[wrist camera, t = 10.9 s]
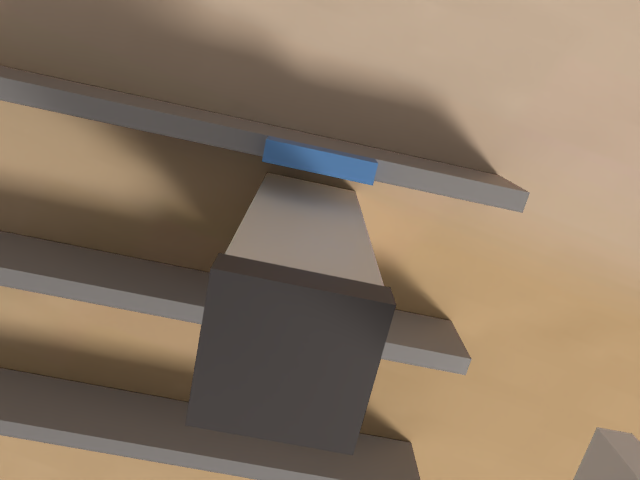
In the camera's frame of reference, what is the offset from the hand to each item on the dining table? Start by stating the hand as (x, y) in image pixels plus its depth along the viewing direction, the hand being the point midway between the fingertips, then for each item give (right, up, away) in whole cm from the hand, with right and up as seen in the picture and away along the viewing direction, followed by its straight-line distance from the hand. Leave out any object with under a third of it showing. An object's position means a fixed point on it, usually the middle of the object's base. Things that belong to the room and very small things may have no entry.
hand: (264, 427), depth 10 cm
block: (0, +4, +13) cm, 14 cm away
